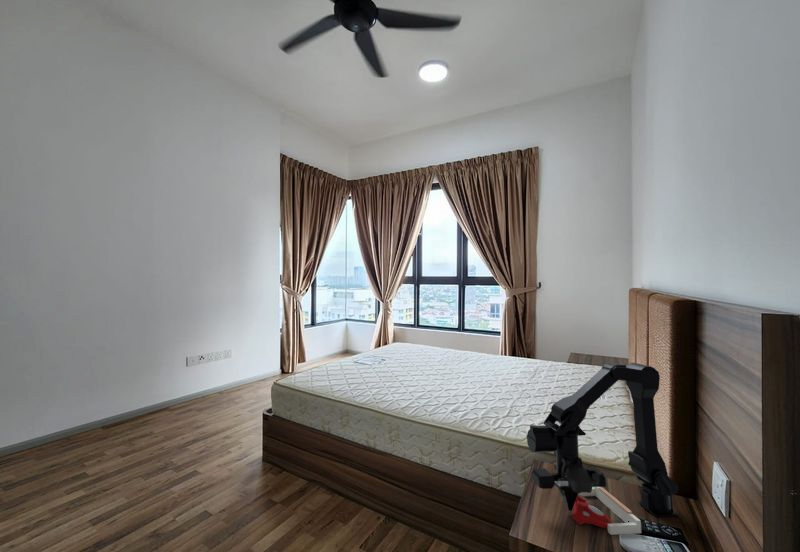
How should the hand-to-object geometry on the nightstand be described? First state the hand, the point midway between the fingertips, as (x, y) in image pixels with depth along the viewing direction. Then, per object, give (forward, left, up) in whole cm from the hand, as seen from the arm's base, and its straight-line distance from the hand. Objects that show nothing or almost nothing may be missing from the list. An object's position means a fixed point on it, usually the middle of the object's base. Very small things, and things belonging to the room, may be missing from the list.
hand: (569, 509), depth 94 cm
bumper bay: (-9, 0, -1) cm, 9 cm away
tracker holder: (-5, +1, -2) cm, 5 cm away
